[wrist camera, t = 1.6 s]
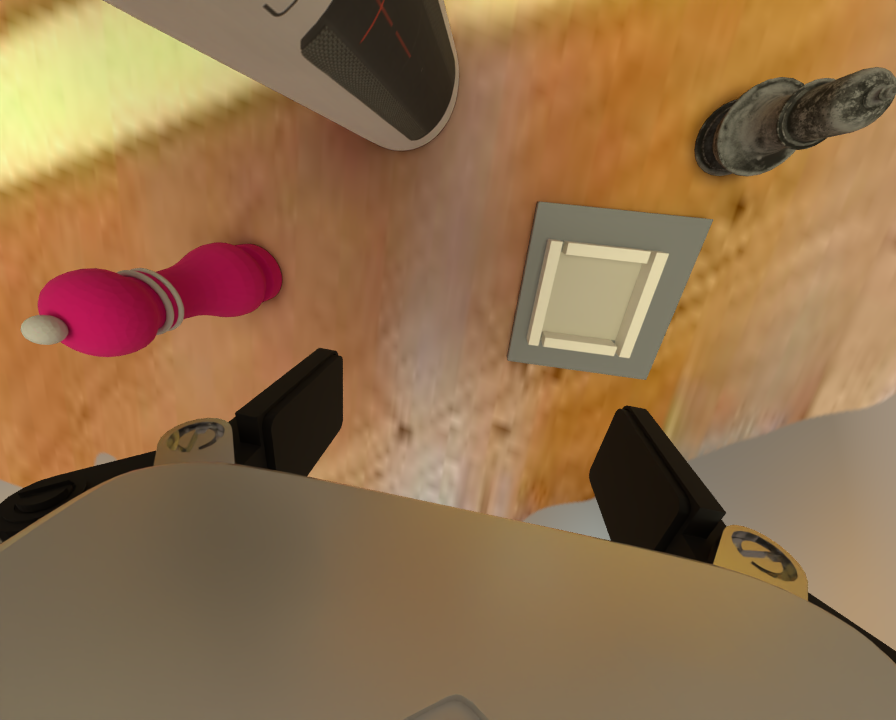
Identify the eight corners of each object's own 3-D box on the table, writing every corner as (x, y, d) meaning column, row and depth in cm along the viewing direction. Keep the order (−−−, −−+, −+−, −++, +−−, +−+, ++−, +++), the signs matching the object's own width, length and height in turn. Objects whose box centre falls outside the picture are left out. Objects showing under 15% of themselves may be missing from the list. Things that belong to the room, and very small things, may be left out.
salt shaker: (734, 77, 25) (923, -26, 14) (791, 120, 25) (1013, 55, 15) (674, 156, 27) (794, 120, 16) (727, 193, 28) (876, 184, 17)
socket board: (537, 201, 30) (541, 201, 27) (704, 219, 29) (728, 220, 26) (507, 356, 37) (508, 368, 34) (641, 374, 36) (654, 389, 33)
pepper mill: (223, 288, 38) (-22, 360, 20) (229, 227, 34) (-57, 247, 17) (281, 313, 38) (93, 407, 20) (292, 256, 35) (81, 306, 17)
